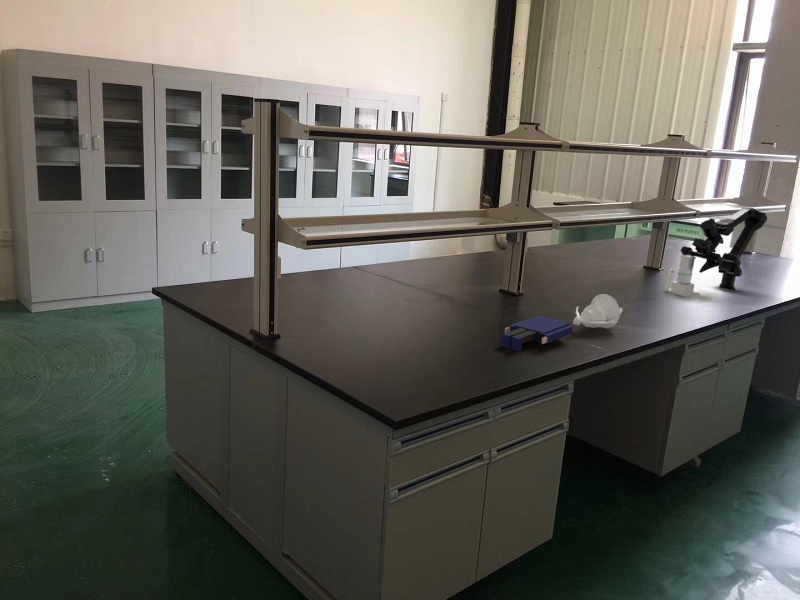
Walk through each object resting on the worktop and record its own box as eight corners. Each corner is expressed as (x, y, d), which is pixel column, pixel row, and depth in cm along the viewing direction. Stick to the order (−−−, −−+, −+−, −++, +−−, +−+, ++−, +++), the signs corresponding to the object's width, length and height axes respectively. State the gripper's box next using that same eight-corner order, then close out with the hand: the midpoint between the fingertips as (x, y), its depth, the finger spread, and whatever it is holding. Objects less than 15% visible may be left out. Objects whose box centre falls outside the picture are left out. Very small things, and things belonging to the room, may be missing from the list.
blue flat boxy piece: (491, 329, 209) (538, 313, 225) (491, 347, 211) (537, 330, 227) (530, 340, 198) (576, 322, 215) (529, 359, 200) (575, 340, 216)
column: (681, 282, 296) (687, 254, 293) (690, 284, 293) (695, 256, 289) (675, 283, 294) (680, 255, 291) (684, 285, 291) (689, 257, 287)
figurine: (642, 299, 229) (599, 309, 213) (635, 331, 233) (592, 343, 217) (602, 285, 241) (558, 294, 226) (595, 316, 245) (552, 327, 229)
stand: (678, 288, 302) (682, 267, 299) (699, 294, 293) (703, 272, 290) (663, 290, 296) (667, 268, 294) (684, 296, 288) (688, 274, 285)
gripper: (686, 228, 299) (666, 253, 297) (724, 236, 284) (703, 262, 282) (694, 244, 306) (675, 269, 303) (731, 252, 290) (711, 279, 288)
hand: (690, 269), depth 294 cm, fingers open, 9 cm apart
